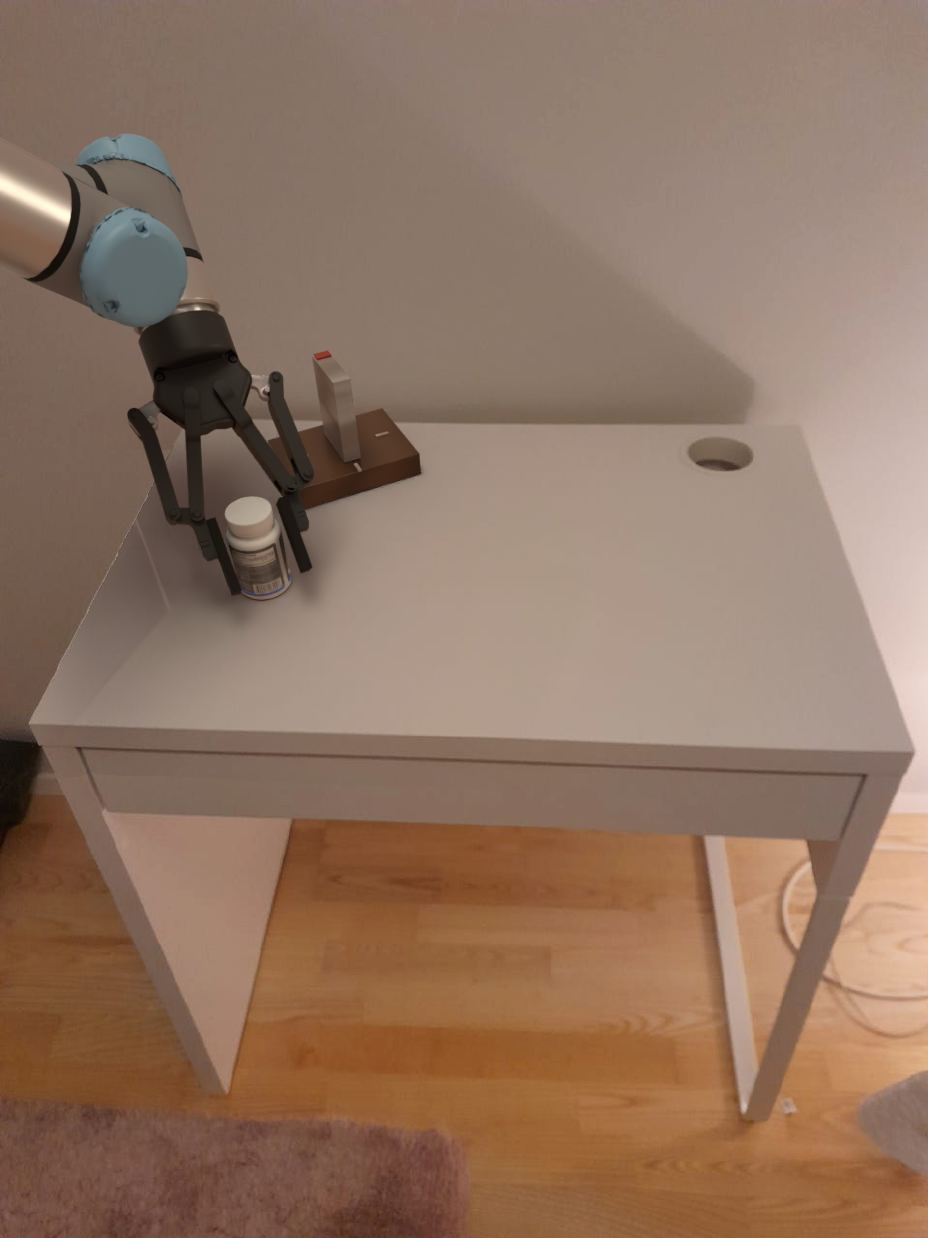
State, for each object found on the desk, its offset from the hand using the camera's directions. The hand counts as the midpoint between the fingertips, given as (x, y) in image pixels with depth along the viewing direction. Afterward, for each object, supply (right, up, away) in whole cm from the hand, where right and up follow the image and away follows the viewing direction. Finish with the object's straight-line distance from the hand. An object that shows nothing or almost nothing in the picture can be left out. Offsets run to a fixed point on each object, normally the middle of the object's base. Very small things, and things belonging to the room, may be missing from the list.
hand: (271, 581), depth 81 cm
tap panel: (+4, +13, +18) cm, 22 cm away
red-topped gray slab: (+4, +15, +16) cm, 22 cm away
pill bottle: (-1, 0, +5) cm, 5 cm away
